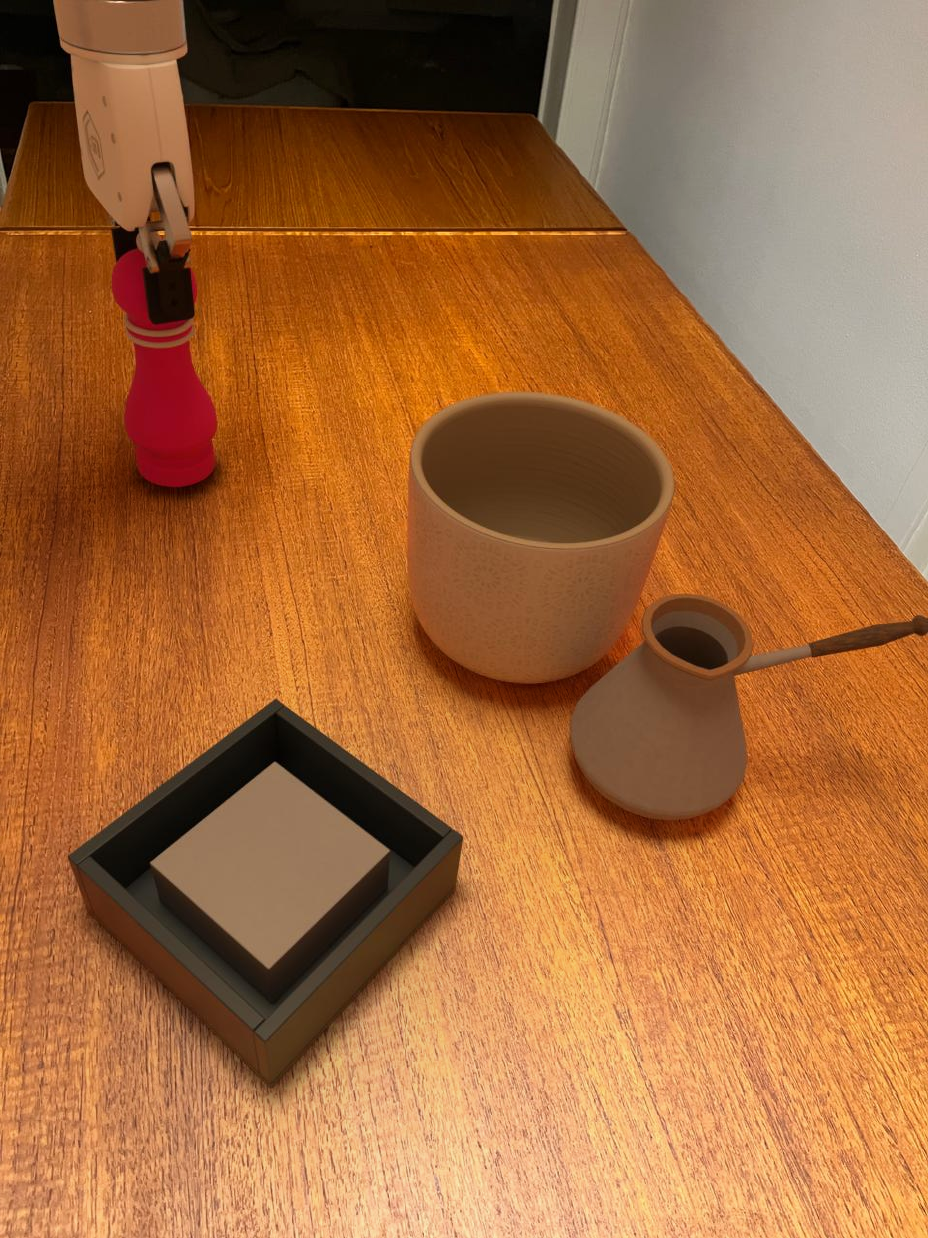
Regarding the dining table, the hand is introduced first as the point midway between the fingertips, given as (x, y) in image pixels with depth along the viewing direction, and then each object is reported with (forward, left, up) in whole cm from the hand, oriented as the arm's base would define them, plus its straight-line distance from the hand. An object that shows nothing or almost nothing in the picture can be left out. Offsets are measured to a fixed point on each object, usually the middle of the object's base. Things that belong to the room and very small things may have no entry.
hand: (156, 297), depth 72 cm
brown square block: (+35, -22, -15) cm, 44 cm away
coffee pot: (+50, +4, -16) cm, 53 cm away
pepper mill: (0, 0, -15) cm, 15 cm away
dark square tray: (+35, -23, -16) cm, 45 cm away
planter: (+32, +4, -16) cm, 36 cm away
